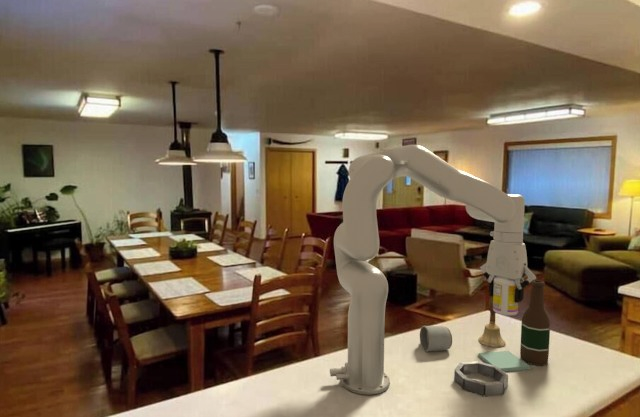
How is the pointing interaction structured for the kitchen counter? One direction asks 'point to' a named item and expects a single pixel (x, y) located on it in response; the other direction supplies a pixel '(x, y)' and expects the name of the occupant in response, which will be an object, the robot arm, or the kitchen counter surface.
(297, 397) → the kitchen counter surface
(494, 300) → the supplement bottle
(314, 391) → the kitchen counter surface
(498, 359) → the pad
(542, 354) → the beer bottle
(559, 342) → the kitchen counter surface
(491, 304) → the hand bell
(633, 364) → the kitchen counter surface
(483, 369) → the collar
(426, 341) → the ceramic mug
